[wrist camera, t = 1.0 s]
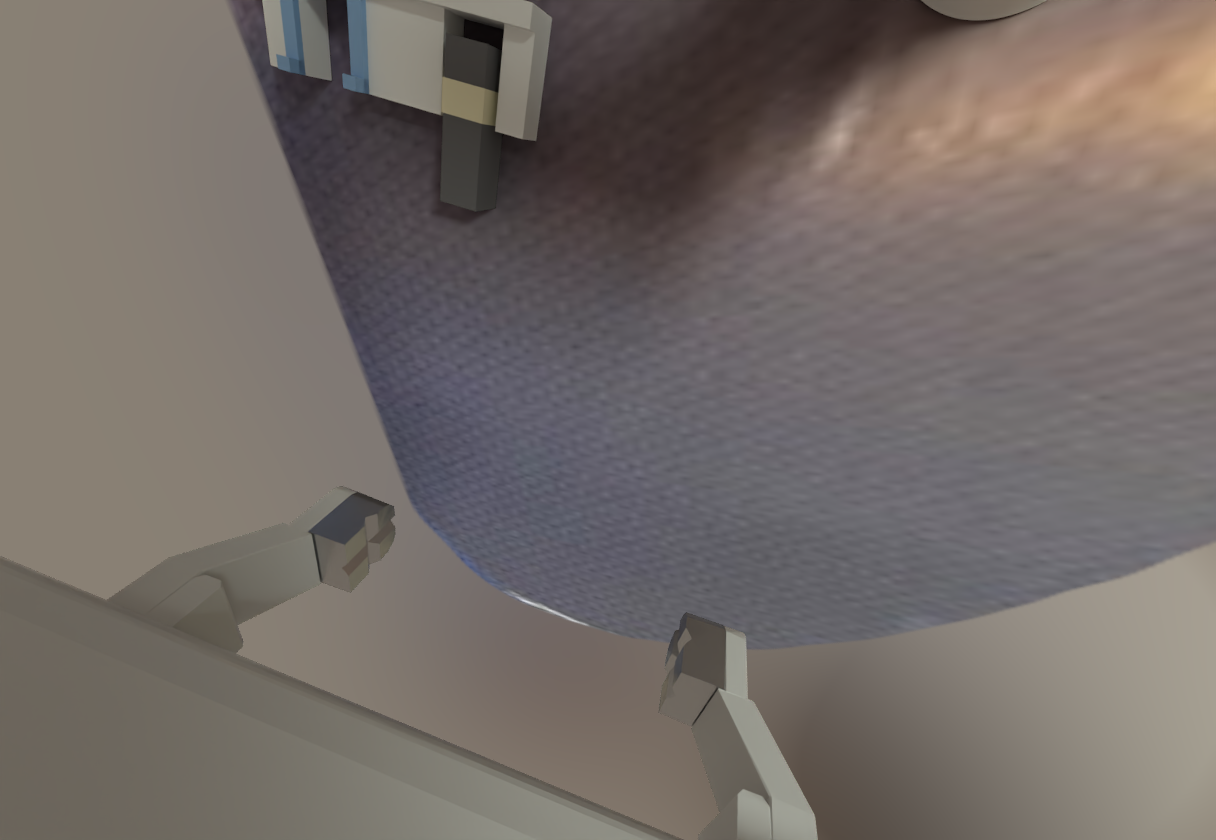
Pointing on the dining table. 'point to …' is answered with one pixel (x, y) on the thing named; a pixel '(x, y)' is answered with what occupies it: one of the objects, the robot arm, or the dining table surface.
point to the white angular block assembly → (416, 50)
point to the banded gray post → (470, 124)
